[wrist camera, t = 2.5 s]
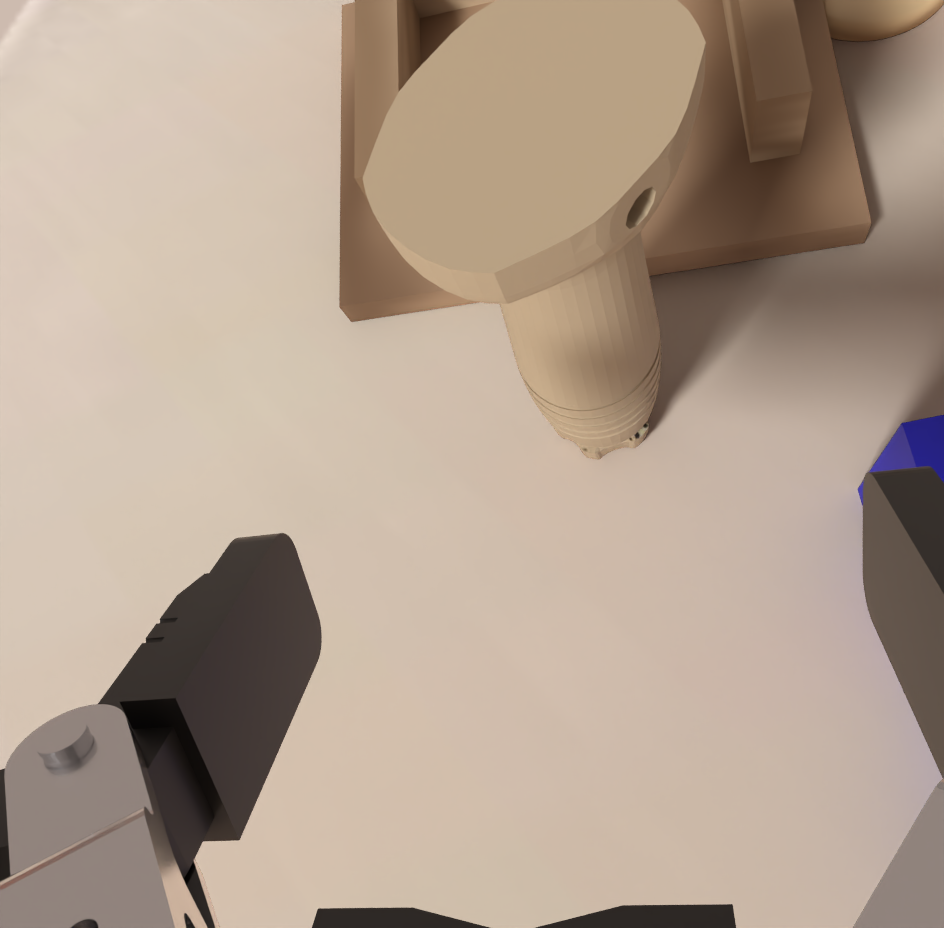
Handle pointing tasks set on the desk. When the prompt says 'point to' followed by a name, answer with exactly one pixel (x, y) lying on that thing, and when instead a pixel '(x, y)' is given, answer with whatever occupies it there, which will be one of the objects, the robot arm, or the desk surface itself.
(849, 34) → the bobbin
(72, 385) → the desk surface
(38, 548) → the desk surface
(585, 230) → the handle
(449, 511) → the desk surface
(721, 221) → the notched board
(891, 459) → the cable clip
